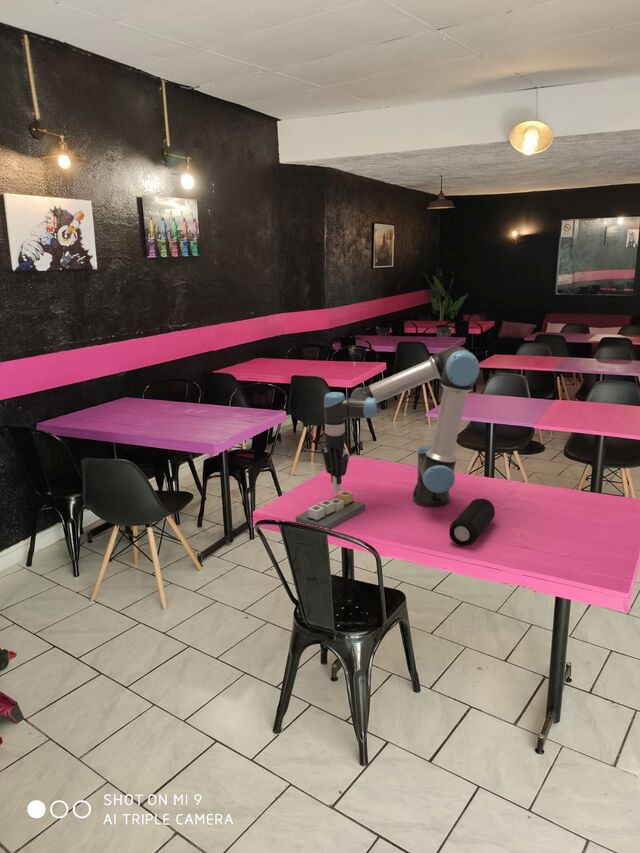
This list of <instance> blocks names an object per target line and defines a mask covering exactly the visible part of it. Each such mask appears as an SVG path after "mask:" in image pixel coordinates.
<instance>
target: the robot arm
mask: <svg viewBox="0 0 640 853" xmlns="http://www.w3.org/2000/svg"><path fill="white" fill-rule="evenodd" d="M479 375H480V363H479V361H478V359H477V357H476V356H475V355H474V354H473V353H472V352H470V350H468V348H466V347H463V346H461V345H459V346H458V345H456V346H450V347H448V348H445V349H443V350H441V351H440V352H437V353H435V354H433V355H430V357H429V358H428V359H427V360H426V361H423V362H421V363H418V364H416V365H414V366H412V367H409V368H407V369H405V370H402V371H400V372H398V373H395V374H393V375H391V376H388V377H386V378H384V379H381V380H379V381H376V382H374V383H372V384H370V385H368V386H365V387H357V388H355V389H354V390H353V391H352V392H351V395H350V397H345V394H344V393H343V392H337V391H332V392H327V393H326V394H325V395H324V397H323V398H324V399H323V402H324V405H323V409H324V433H325V436H324V438H325V439H324V440H325V447H322V448H320V452H321V454H322V456H323V461H324V466H325V470H326V473H327V474H330V477H331V478H330V479H331V482H330V483H332V492H333V493H337V494H338V492H339V493H340V492H341V484H342V477H343V476H345V475H346V474H347V469H348V464H349V459H350V457H351V452H348V451H347V450H346V446H345V443H346V434H345V432H346V424H345V423H346V419H373V418H376V417H377V415H378V414H377V407H378V406H377V404H378V403H380V402H382V401H384V400H387V399H389V398H392V397H394V396H396V395H399V394H403V393H405V392H407V391H409V390H412V389H413V388H416V387H418V386H420V385H423V384H425V383H428V382H430V381H432V380H435V379H438V380H440V385H441V387H442V388H443V390H442V395H441V400H440V404H439V409H438V413H437V420H436V423H435V429H434V433H433V437H432V442H431V443H432V444H427V445H422V446H419V447H418V452H417V481H416V484H415V487H414V490H413V491H412V501H413V502H414V503H415V504H417V505H419V506H423V507H428V508H430V507H431V508H438V507H439V508H441V507H444V506H447V505H448V504H449V503H450V501H451V494H450V489H452V488H453V486H454V485H455V482H456V475H455V467H456V463H457V457H456V455H455V448H456V445H457V440H458V437H459V436H458V435H459V430H460V426H461V422H462V417H463V413H464V408H465V404H466V399H467V396H468V393H469V392H471V391H473V387H474V383H475V381H476V380H477V378H478V377H479Z"/></svg>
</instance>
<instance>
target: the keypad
mask: <svg viewBox="0 0 640 853" xmlns="http://www.w3.org/2000/svg"><path fill="white" fill-rule="evenodd" d="M335 498H336V499H338V496H337V495H336V496H334V497H332V498H330V499H328V500H327V501H331V500H333V499H335ZM363 511H366V503H363V502H362V501H357V500H354V499H353V501H352V502H350V503H348V504H344V508H343V509H341V510H339V511H333V512H331V513H329V514H328V515H327V514H325V516H324V517H322V518H320V519H318V520H316V519H313V518H310V517H308V510H307V511H304V512H302V513H301V514H299V515H297V516H295V523H296V522H300V523H304V524H309V525H313V526H317V527H322V528H327V529H330V530H332V529H334V528H335V527H337V526H339V525H341V524H342V523H344V522H346V521H348V520H350V519H352V518H354V517H355V516H356V515H358V514H360V513H362V512H363Z"/></svg>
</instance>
